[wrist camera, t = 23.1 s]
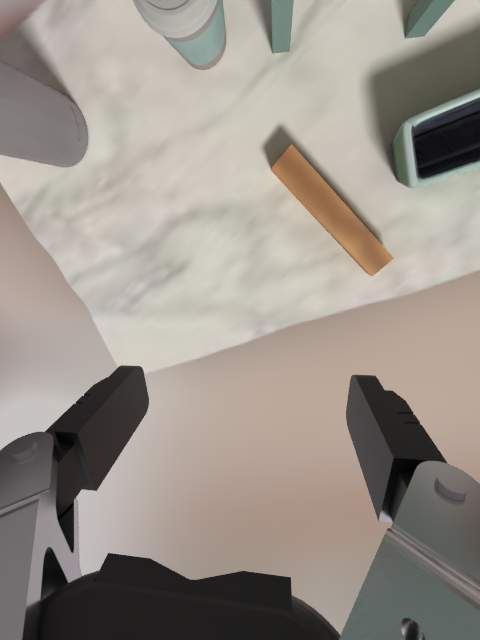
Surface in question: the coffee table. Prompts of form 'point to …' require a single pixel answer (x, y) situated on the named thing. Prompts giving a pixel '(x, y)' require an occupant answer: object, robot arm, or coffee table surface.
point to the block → (330, 211)
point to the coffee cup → (189, 27)
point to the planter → (439, 142)
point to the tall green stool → (419, 23)
